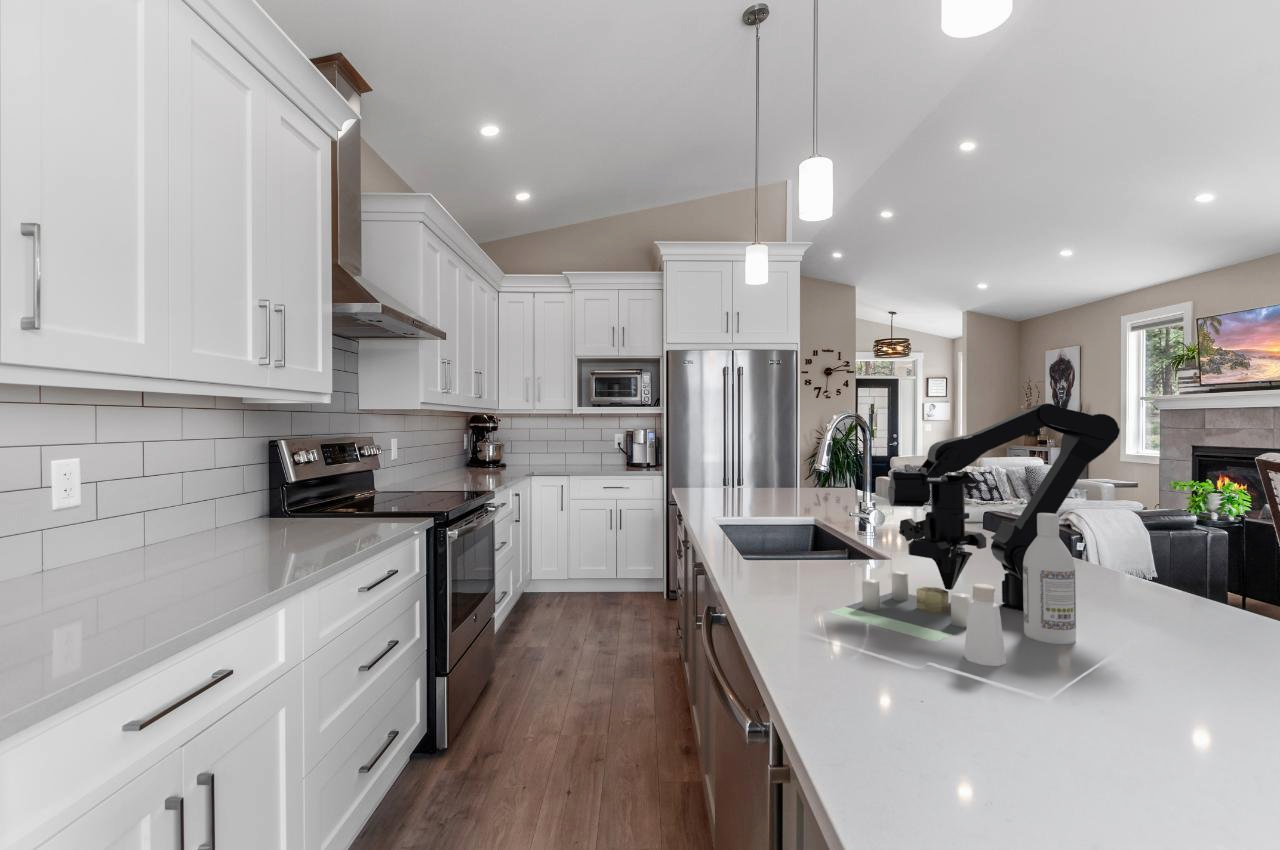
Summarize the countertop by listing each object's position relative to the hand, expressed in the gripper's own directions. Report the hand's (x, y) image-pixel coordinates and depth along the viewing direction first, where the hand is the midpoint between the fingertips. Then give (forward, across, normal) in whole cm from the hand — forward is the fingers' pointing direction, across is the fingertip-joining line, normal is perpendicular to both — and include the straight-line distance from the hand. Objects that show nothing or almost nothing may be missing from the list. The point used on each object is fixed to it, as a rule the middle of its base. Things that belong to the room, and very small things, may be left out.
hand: (948, 589), depth 117 cm
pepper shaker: (+3, +24, +17) cm, 30 cm away
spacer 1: (+3, +14, -8) cm, 16 cm away
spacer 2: (+3, +4, -8) cm, 9 cm away
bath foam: (+3, +6, +19) cm, 20 cm away
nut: (+3, +6, 0) cm, 7 cm away
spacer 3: (+3, +11, +7) cm, 14 cm away
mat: (+3, +11, -1) cm, 12 cm away
